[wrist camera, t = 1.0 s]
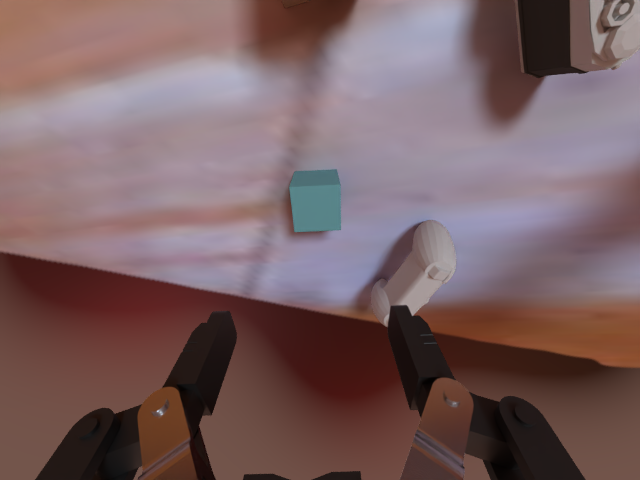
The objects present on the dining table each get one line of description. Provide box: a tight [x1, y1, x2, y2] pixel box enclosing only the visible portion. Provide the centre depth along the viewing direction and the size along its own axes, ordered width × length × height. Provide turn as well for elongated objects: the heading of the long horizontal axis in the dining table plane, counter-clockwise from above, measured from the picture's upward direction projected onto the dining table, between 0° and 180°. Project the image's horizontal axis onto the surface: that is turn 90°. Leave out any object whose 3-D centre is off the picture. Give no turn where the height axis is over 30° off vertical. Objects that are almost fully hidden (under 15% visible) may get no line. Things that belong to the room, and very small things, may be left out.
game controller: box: [371, 220, 456, 327], centre depth 31 cm, size 14×4×10 cm, turn 155°
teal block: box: [289, 169, 341, 232], centre depth 28 cm, size 5×5×6 cm
